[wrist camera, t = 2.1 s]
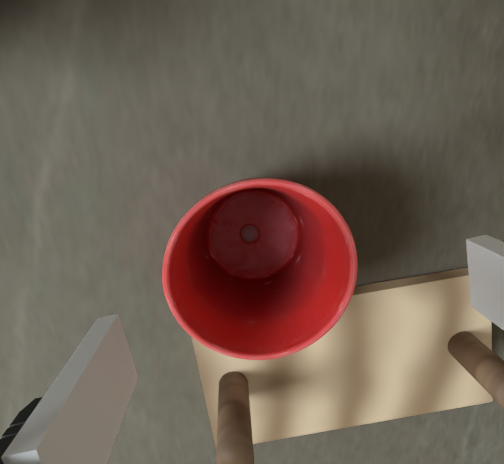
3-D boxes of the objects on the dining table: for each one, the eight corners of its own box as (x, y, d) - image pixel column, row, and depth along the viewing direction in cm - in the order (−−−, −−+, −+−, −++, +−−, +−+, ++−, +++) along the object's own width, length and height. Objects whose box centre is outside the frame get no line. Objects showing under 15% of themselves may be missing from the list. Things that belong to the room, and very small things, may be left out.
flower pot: (169, 173, 31) (143, 194, 21) (314, 154, 31) (352, 166, 21) (192, 304, 33) (178, 374, 24) (326, 285, 34) (364, 347, 24)
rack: (216, 437, 37) (213, 541, 27) (190, 315, 34) (175, 386, 24) (482, 390, 37) (566, 478, 28) (479, 265, 34) (573, 317, 25)
